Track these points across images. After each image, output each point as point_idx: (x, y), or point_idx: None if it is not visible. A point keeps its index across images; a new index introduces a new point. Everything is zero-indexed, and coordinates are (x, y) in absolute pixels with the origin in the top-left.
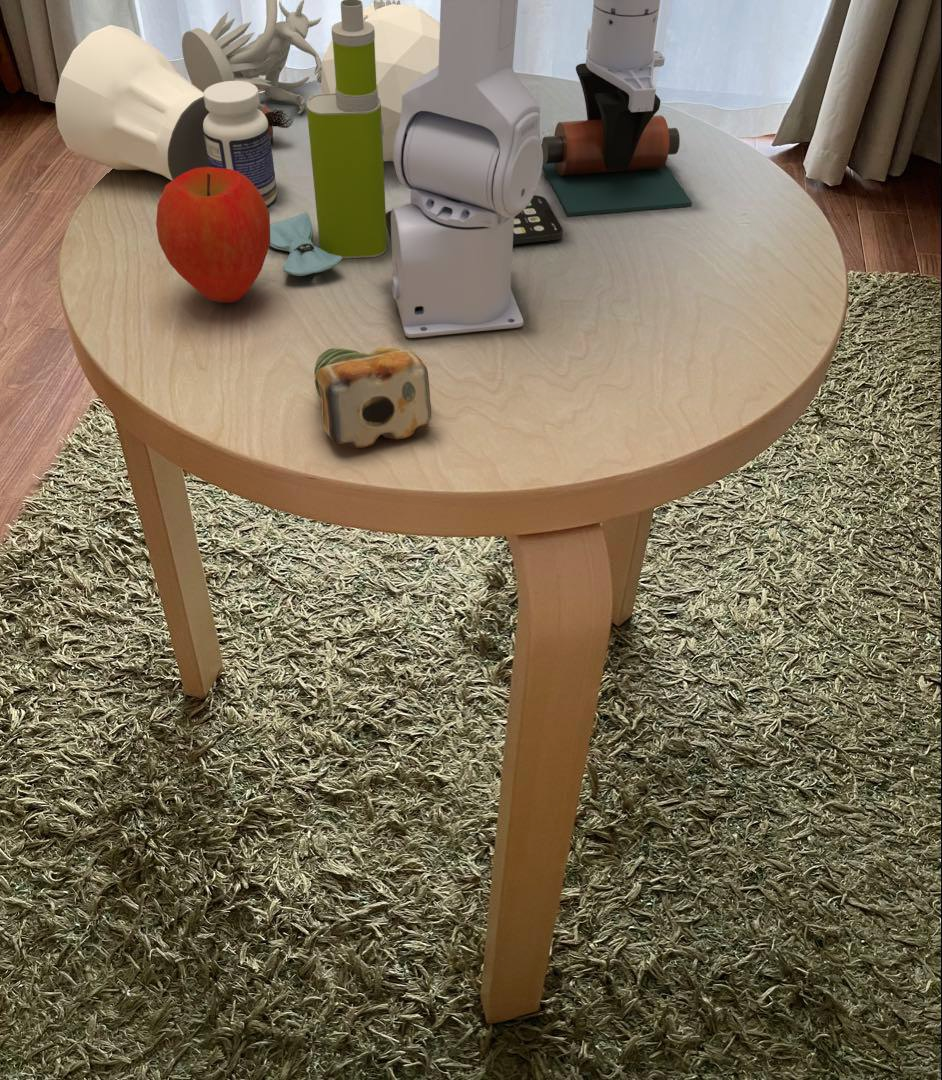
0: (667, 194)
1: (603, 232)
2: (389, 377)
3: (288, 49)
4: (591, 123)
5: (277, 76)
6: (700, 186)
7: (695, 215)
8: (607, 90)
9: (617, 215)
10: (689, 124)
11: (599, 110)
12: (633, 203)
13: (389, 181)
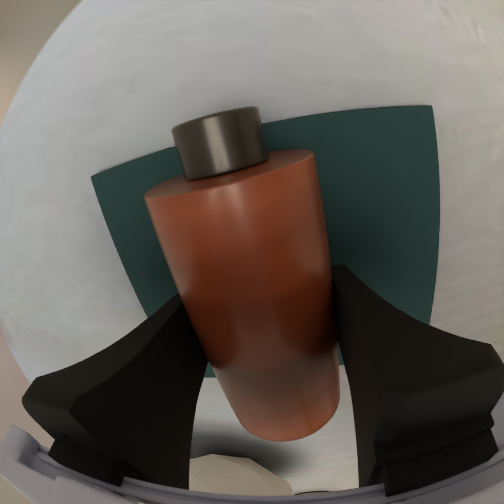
0: (397, 154)
1: (477, 293)
2: None
3: (131, 500)
4: (280, 406)
5: None
6: (326, 55)
7: (459, 110)
8: (162, 417)
9: (440, 268)
10: (28, 90)
11: (184, 380)
12: (427, 241)
13: (291, 465)
